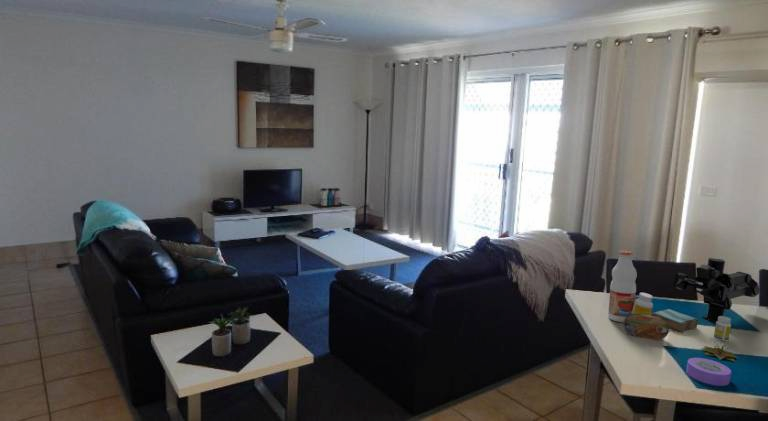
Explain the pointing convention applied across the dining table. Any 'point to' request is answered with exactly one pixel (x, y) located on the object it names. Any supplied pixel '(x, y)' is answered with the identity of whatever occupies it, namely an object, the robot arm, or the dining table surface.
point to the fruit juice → (622, 288)
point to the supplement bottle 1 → (643, 304)
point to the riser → (677, 320)
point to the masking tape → (708, 371)
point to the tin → (646, 326)
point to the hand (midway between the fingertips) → (687, 289)
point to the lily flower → (719, 352)
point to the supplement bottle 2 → (722, 328)
